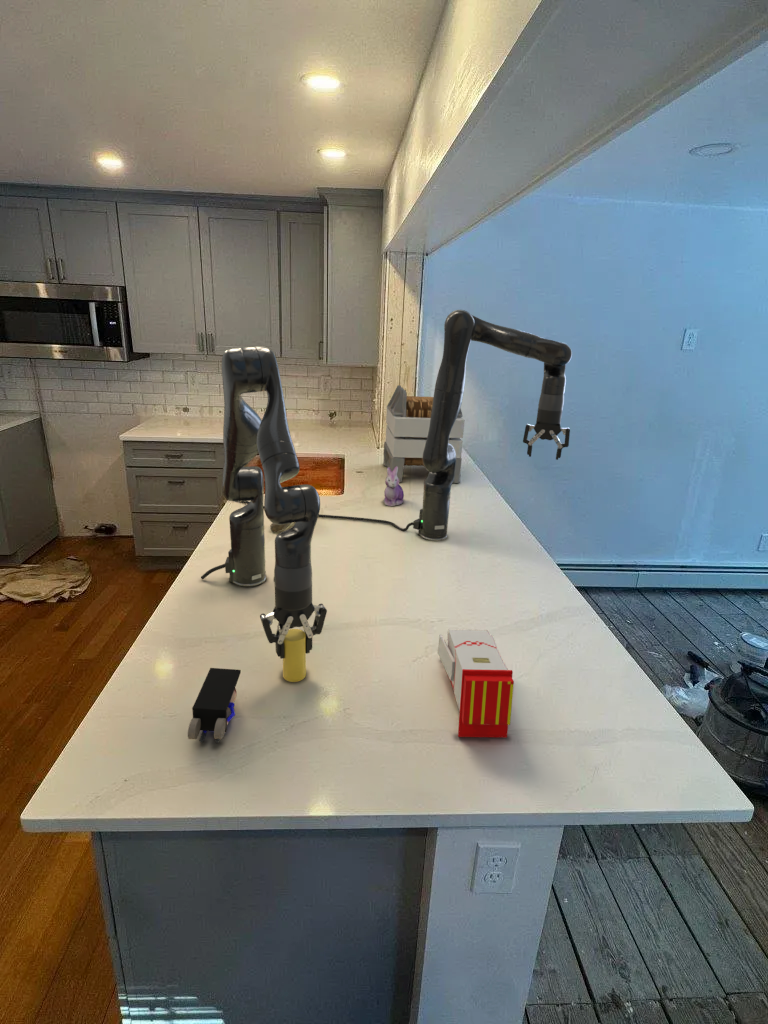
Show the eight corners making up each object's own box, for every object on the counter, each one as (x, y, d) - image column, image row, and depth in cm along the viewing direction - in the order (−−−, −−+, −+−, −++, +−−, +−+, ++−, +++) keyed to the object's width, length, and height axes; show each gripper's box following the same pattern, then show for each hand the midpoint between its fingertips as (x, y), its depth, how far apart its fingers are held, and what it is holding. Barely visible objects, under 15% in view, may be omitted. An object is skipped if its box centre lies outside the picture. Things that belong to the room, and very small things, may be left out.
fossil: (276, 500, 214) (305, 479, 209) (292, 519, 217) (322, 499, 212) (259, 527, 195) (291, 505, 190) (277, 547, 198) (310, 526, 193)
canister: (290, 685, 118) (290, 643, 115) (278, 673, 122) (277, 633, 118) (310, 676, 121) (310, 636, 118) (298, 665, 125) (297, 626, 121)
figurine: (388, 507, 225) (390, 471, 220) (377, 500, 233) (378, 464, 228) (409, 505, 229) (411, 469, 224) (397, 497, 238) (399, 462, 232)
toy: (488, 613, 130) (523, 677, 101) (484, 667, 133) (517, 744, 104) (435, 612, 130) (455, 676, 101) (432, 666, 133) (451, 743, 103)
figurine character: (226, 757, 100) (244, 694, 114) (223, 726, 97) (241, 665, 110) (188, 756, 100) (210, 694, 114) (183, 725, 97) (207, 664, 110)
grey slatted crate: (382, 463, 289) (386, 382, 275) (445, 464, 293) (451, 384, 279) (390, 482, 257) (394, 392, 243) (460, 483, 261) (468, 394, 247)
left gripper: (261, 595, 108) (264, 671, 114) (333, 584, 113) (332, 656, 119) (253, 578, 114) (256, 651, 120) (321, 568, 120) (321, 638, 126)
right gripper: (526, 407, 177) (520, 458, 183) (574, 411, 174) (566, 462, 179) (527, 404, 184) (521, 452, 190) (573, 408, 181) (565, 457, 186)
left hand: (294, 653), depth 120 cm, fingers closed on canister, 5 cm apart
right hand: (543, 457), depth 185 cm, fingers open, 8 cm apart
